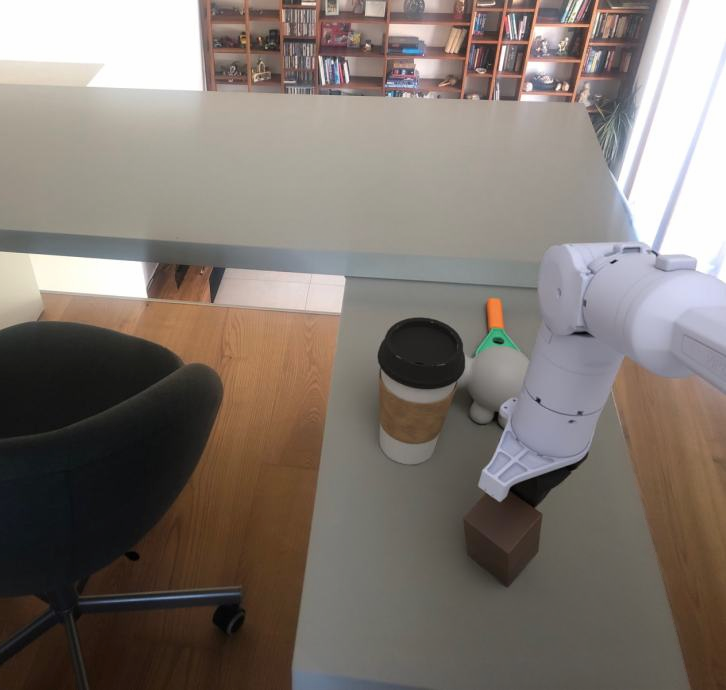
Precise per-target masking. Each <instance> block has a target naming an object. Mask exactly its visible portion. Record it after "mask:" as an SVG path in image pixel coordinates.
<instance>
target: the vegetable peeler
mask: <svg viewBox="0 0 726 690" xmlns="http://www.w3.org/2000/svg"><path fill="white" fill-rule="evenodd" d="M486 313H487V315H486V317H487V328H488V333H487V335H486V337H485V338H484V339H483V340H482V342H481V344H480V345H479V346H478V348H477V349H476V351H475V354H474V356H473V358H474V357H475V356H476V355H477V354H479V353H480V352H481V351H483V350H485V349H487V348H490V347H495V346H506V347H510V348H513V349H516V350H518V351H519V352H521V353H522V354H524V353H523V352H522V351H521V350H520V349H519V347H518V346H517V345H516V344H515V342H514V341H513V339H512V338H511V337H510V336H509V335H508V334H507V332H506V331H505V325H504V315H503V305H502V300H501V299H500V298H497V297H495V298H494V297H490V298H488V299H487V300H486ZM495 342H498V343H500V344H498V343H495Z"/></svg>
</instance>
